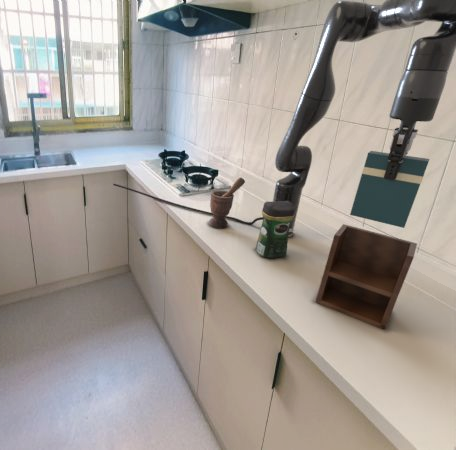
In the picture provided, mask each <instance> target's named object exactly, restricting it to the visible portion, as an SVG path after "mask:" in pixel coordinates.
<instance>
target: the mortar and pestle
mask: <svg viewBox="0 0 456 450" xmlns="http://www.w3.org/2000/svg"><path fill="white" fill-rule="evenodd" d="M244 184H246V180H245V179H244V178H243V177H239V178H237V179H236V180H235V182H234V183H233V184H232V186H231V188H229V190H220V189H218V190H212V191H211V193H210V202H209V207H210V208H209V209H210V213H212V214H213V215H212V216H213V217H211V218H210V219H209V221H208V225H210V226H211V227H212V228H216V229H224V228H227V227H228V221H227V219H226V218H225V216H228V215H229V214H230V211H231V209H232V207H233V201H234V197H235V196H234V194H235V193H236V192H237V191H238V190H239V189H240V188H241V187H242V186H243V185H244Z"/></svg>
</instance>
